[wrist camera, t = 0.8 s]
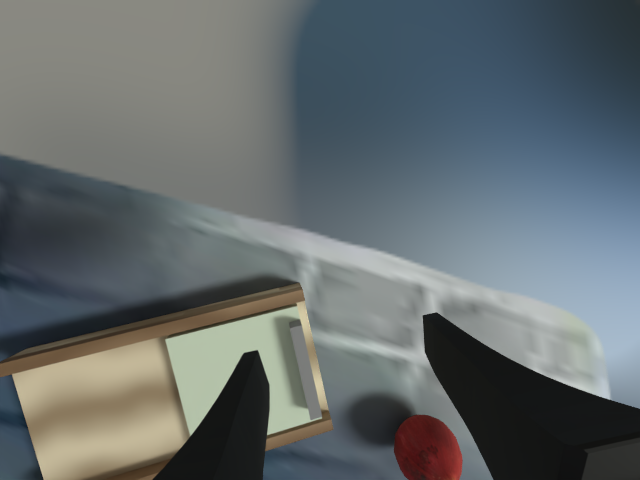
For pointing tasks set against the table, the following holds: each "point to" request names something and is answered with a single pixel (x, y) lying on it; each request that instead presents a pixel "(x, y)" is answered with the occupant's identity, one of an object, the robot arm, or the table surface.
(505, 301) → the table surface
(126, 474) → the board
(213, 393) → the lid
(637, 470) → the robot arm
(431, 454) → the onion
